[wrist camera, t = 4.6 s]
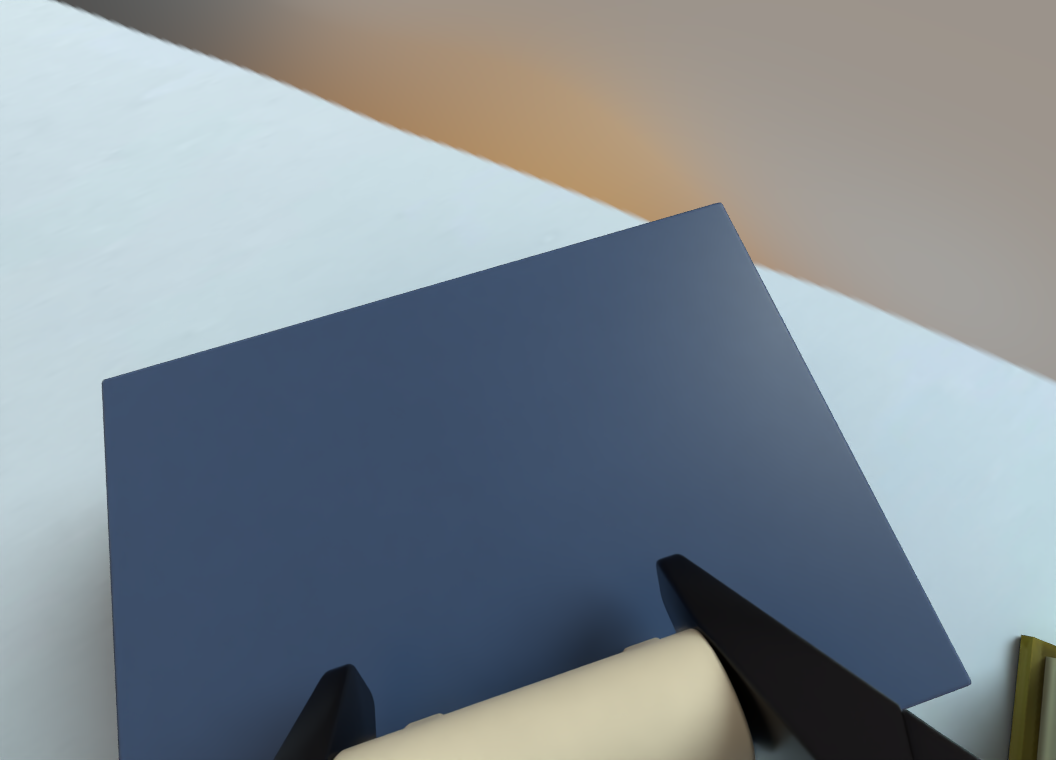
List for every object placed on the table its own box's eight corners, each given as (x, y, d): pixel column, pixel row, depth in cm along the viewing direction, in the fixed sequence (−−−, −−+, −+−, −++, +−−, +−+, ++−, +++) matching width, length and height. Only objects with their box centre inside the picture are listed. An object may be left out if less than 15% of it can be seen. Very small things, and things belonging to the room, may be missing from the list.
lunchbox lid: (941, 674, 10) (1227, 763, 6) (163, 963, 9) (-164, 1320, 5) (711, 220, 13) (787, 72, 9) (127, 389, 12) (-83, 309, 8)
